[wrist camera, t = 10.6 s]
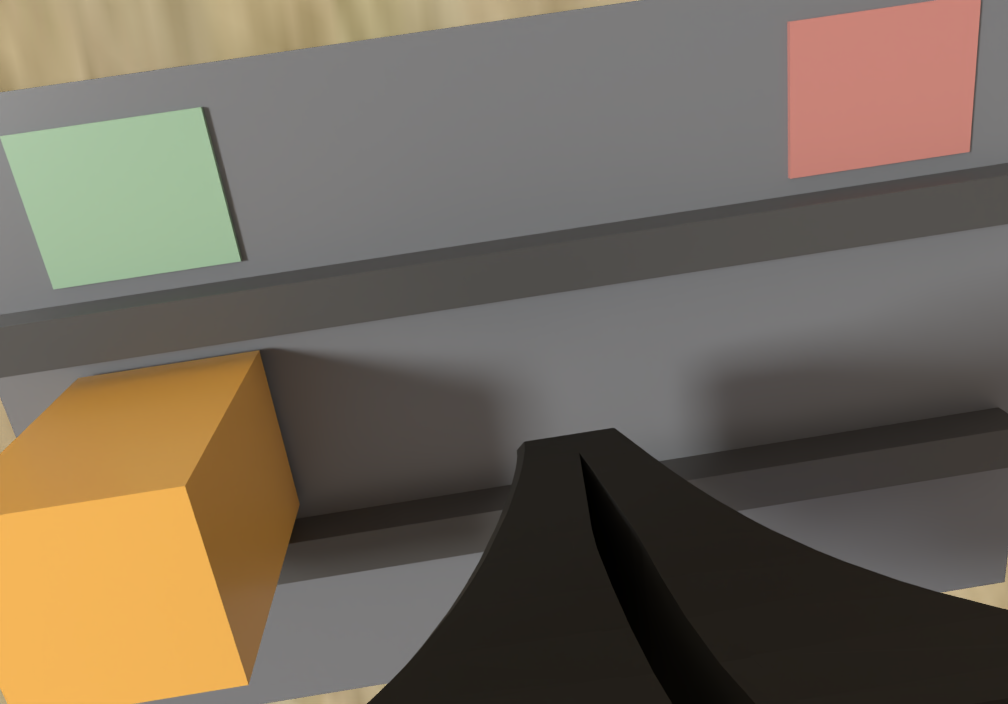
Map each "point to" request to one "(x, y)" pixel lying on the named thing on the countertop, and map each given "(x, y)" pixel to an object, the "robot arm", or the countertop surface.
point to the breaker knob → (143, 535)
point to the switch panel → (548, 281)
